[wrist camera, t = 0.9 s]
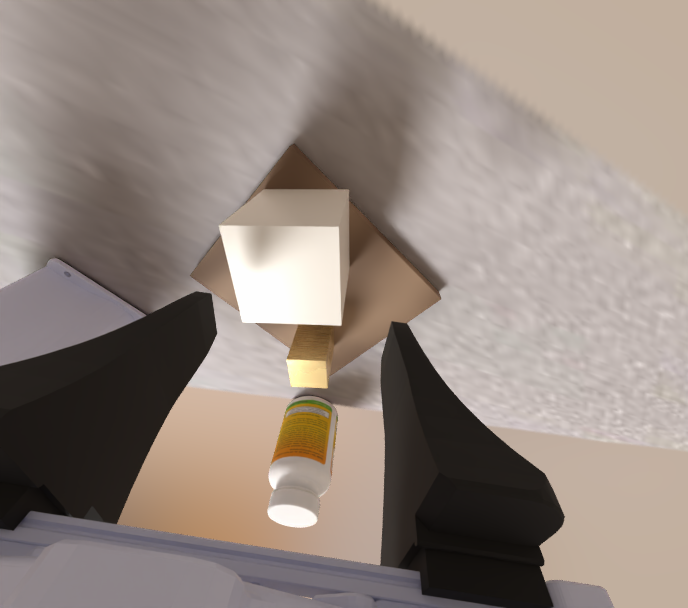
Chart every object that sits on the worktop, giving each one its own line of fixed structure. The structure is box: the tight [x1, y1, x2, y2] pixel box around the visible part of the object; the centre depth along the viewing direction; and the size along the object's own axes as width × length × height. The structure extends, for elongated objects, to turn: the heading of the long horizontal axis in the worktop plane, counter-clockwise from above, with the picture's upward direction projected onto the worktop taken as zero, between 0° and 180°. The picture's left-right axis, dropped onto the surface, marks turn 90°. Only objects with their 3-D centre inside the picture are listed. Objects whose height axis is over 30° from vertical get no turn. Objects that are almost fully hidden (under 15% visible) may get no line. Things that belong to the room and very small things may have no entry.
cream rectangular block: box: [219, 189, 349, 326], centre depth 17 cm, size 5×5×7 cm
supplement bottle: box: [267, 396, 338, 527], centre depth 28 cm, size 5×5×10 cm
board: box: [190, 144, 441, 376], centre depth 23 cm, size 14×12×1 cm
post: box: [287, 324, 334, 388], centre depth 23 cm, size 3×3×4 cm
